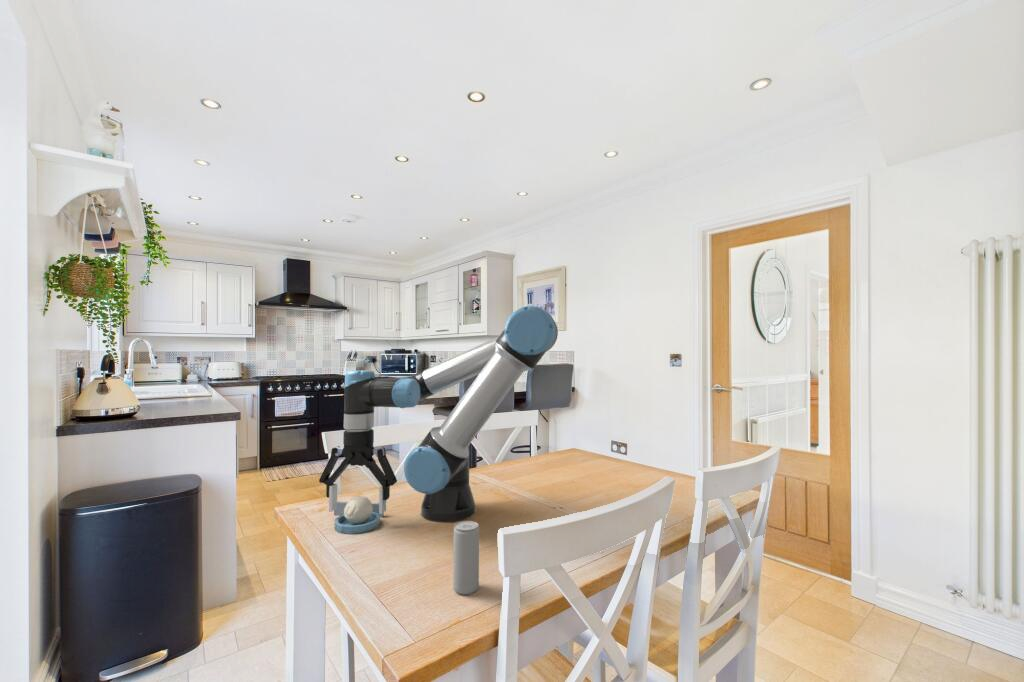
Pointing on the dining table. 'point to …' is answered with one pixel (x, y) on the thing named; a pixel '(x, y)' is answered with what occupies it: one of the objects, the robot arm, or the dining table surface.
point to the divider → (342, 504)
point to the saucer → (349, 528)
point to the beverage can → (466, 557)
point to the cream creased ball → (358, 510)
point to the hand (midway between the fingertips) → (357, 511)
